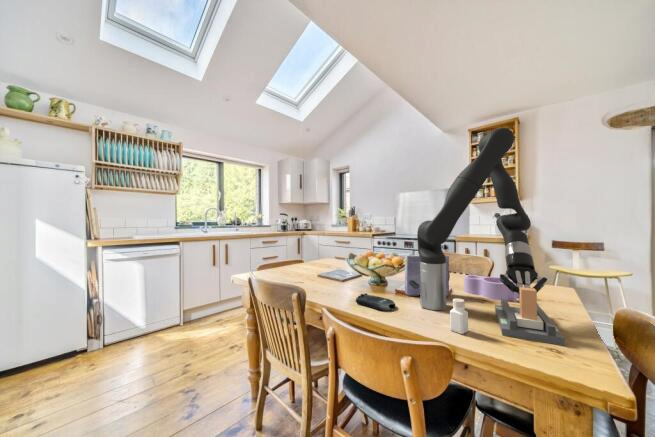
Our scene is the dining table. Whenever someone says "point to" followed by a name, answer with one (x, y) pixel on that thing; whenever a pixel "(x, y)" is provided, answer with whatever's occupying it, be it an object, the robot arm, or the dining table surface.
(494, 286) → the lavender double ring holder
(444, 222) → the robot arm
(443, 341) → the dining table surface
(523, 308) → the switch lever
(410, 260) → the cake pan box
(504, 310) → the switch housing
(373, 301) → the electronic device
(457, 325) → the salt shaker
